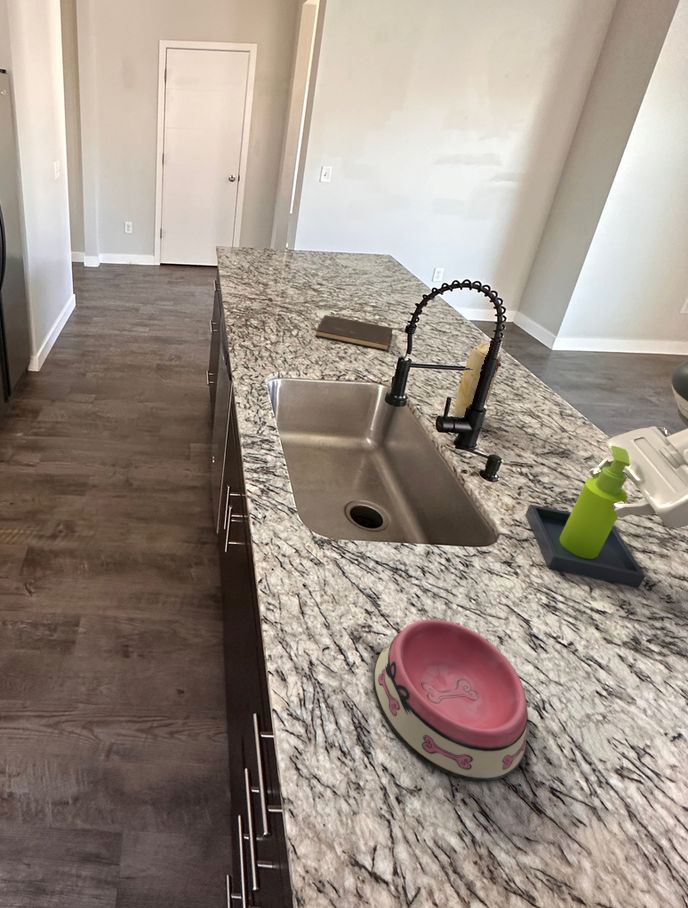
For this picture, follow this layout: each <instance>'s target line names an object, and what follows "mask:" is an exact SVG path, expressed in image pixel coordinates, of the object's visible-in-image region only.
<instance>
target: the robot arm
mask: <svg viewBox="0 0 688 908" xmlns="http://www.w3.org/2000/svg"><path fill="white" fill-rule="evenodd" d="M671 389H672V392H673V395H674V399H675V402H676V405H677V406H676V407H677V413H678V416H679V418H680V420H681V421H682V422H683V424H684V425H685V426H686V427H687V428H685V429H683V430H680V431H677V432H675V433H672V431H670V430H671V429H669V428H667V427H664V426H663V427H661V426H655V425H654V426H649V427H642V428H638V429H634V430H630V431H627V432H624V433H620V434H618V435H615V436H613V437H610V438H609V439H608V440H607V441H606V442H605V443H604V446H605V447H606V449H607V450H608V451H609V453H610V455H607V456H605V457H604V458H603V460H601V462H600V463H599V464H598V465H597V466H595V467H592V468H590V469H588V472H589V474H590V476H591V478H596V479H597V478H598V476H599V474H600V472H601V470H602V468H604V467H610V466H611V464H612V462H613V460H614V455H613V451H612V449H611V446H616V447H620V448H623V449H625V450H626V451H627V452H628V455H629V460H630V465H629V467H628V466H625V468H624V470H623V472H625V473H626V476H628V477H629V479H630V480H631V482H632V483H633V484H634V486H635V487H636V489H638V491H639V492H640V494H641V495H642V496H643V497H642V498H640V499H637V500H636V502H634V503H625V504H624V503H623V501H620V502H618V503H617V504H616V503H615V504H613V505H612V508H613V509H614V511H615V513H616V514H617V515H618V518H625V517H629V516H631V515H632V516H651V515H653V514H656V515H657V516H658V518H659V519H660V520H661V522H662V523H663V524H664V526H666V527H668V528H674V529H681V528H685V527H688V359H686V360H684V361H683V362H681V363H680V364H679V365H678V366H677V367H676V368H675V369H674V371H673V373H672V375H671Z"/></svg>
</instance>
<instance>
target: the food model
mask: <svg viewBox="0 0 688 908" xmlns="http://www.w3.org/2000/svg"><path fill="white" fill-rule="evenodd" d="M490 344H491V343H488V342H482V343H480V344H479V345H478V346H477V348H476V347H473V349H471V351H470V352H469V355H468V358H467V361H466V365H465V368H470V369H473V370H465V368H464V371H463V374H462V377H461V380H460V383H459V387H458V391H457V394H456V398H455V402H454V406H453V414H454V417H455V418H457V417H463V416H464V414H465V411H466V408H467V407H468V406H469V405H470V404H471V403H472V401H473V398H474V395H475V392H476V388H477V385H478V381H479V378H480V372H481V367H482V365H483V364H484V360H485V357H486V355H487V353H488V351H489V347H490ZM501 354H502V353H501V351H500V352H499V357H498V363H497V368H496V372H495V374H494V377H493V380H492V383H491V386H490V389H489V392H488V395H487V399H486V405H488V401H489V399H490V396H491V393H492V390H493V387H494V384H495V380H496V377H497V374H498V370H499V368H500V363H501V359H502V355H501Z"/></svg>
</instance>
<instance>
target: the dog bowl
mask: <svg viewBox="0 0 688 908" xmlns="http://www.w3.org/2000/svg"><path fill="white" fill-rule="evenodd" d="M372 675H373V680H372V681H373V690H374V694H375V698H376V702H377V704H378V707H379V709H380V711H381V713H382V715H383V717H384V719H385V720H386V723H387V724H388V725H389V727H390V728H391V730H392V731H393V732H394V734H395V735H396V737H398V740H400V741H401V742H402V743H403V744H404V745H405V746H406V747H407V749H409V750H410V751H411V752H412V753H413V754H415V755H416V757H418V758H419V759H421V760H422V761H423V762H424V763H426V764H428V765H429V766H431V767H433V768H435V769H437V770H439V771H440V772H443V773H445V774H447V775H449V776H451V777H455V778H458V779H462V780H466V781H471V782H491V781H498V780H499V779H503V778H505V777H507V776H509V775H510V774H511V773H513V772H514V771H515V770H516V769H517V768H518V767H519V766H520V764H521V762H522V760H523V758H524V756H525V751H526V747H527V746H526V745H527V727H528V726H527V725H528V718H529V716H528V715H529V712H528V703H527V696H526V691H525V689H524V685H523V683H522V680H521V678H520V676H519V674H518V673H517V671H516V669H515V668H514V666H513V665H512V663H511V662H510V661H509V659H508V658H507V657H506V656H505V655H504V654H503V653H502V652H501V651H500V650H499V649H498V648H497V647H496V646H495V645H493V643H491V642H490V641H489V640H488V639H486V638H485V637H483V636H482V635H480V634H479V633H477V632H476V631H474V630H472V629H470V628H468V627H466V626H463V625H461V624H458V623H455V622H452V621H448V620H444V619H436V618H435V619H434V618H432V619H431V618H429V619H421V620H418V621H414V622H411V623H410V624H408V625H407V626H406V627H404V628H403V629H402V630H401V631H398V633H397V634H396V635H395V636H394V637H393V639H392V641H391V642H390V643H389V644H387V645H386V646H385V647H384V648H383V649H382V650H381V651H380V653H379V655H378V657H377V659H376V661H375V664H374V667H373V674H372Z"/></svg>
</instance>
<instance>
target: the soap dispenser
mask: <svg viewBox="0 0 688 908" xmlns="http://www.w3.org/2000/svg"><path fill="white" fill-rule="evenodd" d="M611 449H612V451H613V455H614V460H613V462H612V464H611V466H610V467H604V468H602V470H601V472H600V474H599V476H598V478H597V479H596V478H593V477H591V478H588V479H586V480H585V481H584V484H583V487H582V489H581V491H580V492H579V495H578V497H577V499H576V501H575V504H574V505H573V508H572V510H571V511H570V512H571V514H570V516H569V518H568V521H567V523H566V525H565V527H564V529H563V531H562V533H561V535H560V538H559V539H560V542H561V544H562V545H563V547H564V548H566V549H567V550H568V551H569V552H571V553H573V554H575V555H577V556H579V557H582V558H587V559H593V558H596V557H597V556H598V554H599V552H600V550H601V549H602V547H603V545H604V543H605V541H606V539H607V537H608V535H609V533H610V531H611V529H612V527H613V525H614V526H615V523H616V522H617V520H618V518H619V516H618V515H617V514H616V513H615V511H614V509H613V508H612V505H613V504H615V503H616V504H617V503H618V502H620V501H623V503H624V504H626V502H627V501H628V497H629V496H628V494H627V493H626V492H625V490H623V487H624V485H625V483H626V480H627V474H625V473H624V468H625V466H628V467H629V465H630V460H629V455H628V452H627V451H626V450H625V449H623V448H620V447H616V446H611Z"/></svg>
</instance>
